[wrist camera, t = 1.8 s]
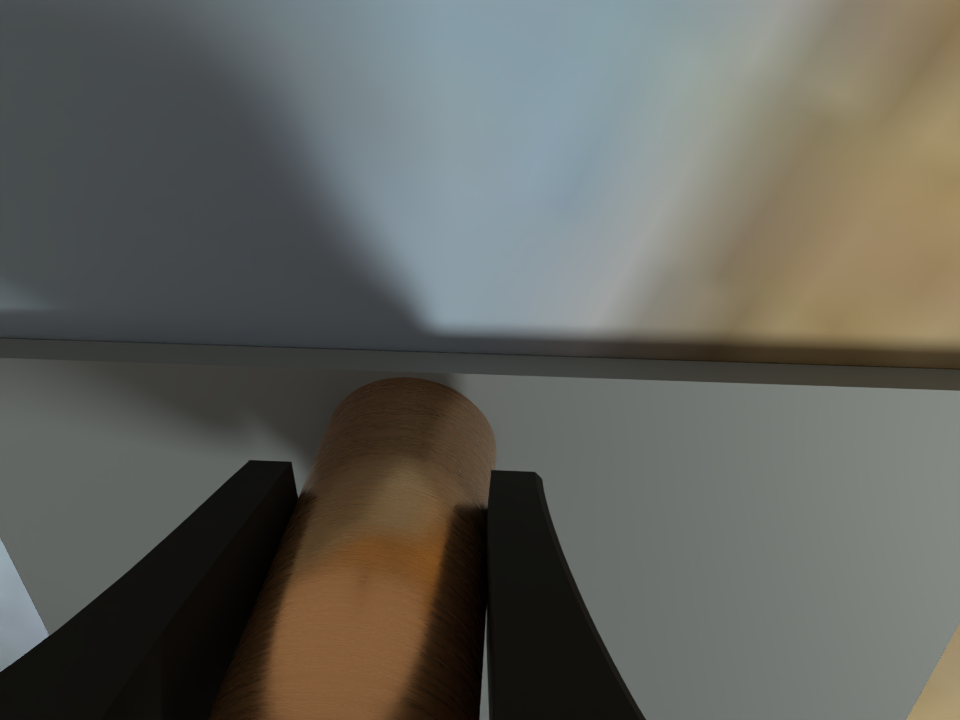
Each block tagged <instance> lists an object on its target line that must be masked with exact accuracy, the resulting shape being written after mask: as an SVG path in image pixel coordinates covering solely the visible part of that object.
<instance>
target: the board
mask: <svg viewBox="0 0 960 720" xmlns="http://www.w3.org/2000/svg"><path fill="white" fill-rule="evenodd" d="M398 377H409V378H420V379H425V380H430V381H433V382H436V383H439V384H442V385H445V386H447V387H449V388H451V389H453V390H455V391H457V392H459V393H460V394H462V395H463V396H465V397H466V398H467V399H469V400H470V401H471V402H472V403H473V404H474V405H476V406H477V407H478V408H479V410H480V411H481V412H482V413H483V415H484V416H485V417H486V419H487V421H488V422H489V424H490V426H491V428H492V431H493V433H494V437H495V441H496V450H497V454H496V469H495V470H504V471H529V472H536V473H537V474H538V475H539V476H540V477H541V478H542V480H543V487H544V492H545V497H546V501H547V505H548V509H549V512H550V515H551V519H552V522H553V525H554V528H555V531H556V534H557V536H558V539H559V542H560V545H561V548H562V550H563V553H564V556H565V558H566V561H567V563H568V566H569V568H570V570H571V573H572V575H573V577H574V580H575V582H576V584H577V587H578V589H579V591H580V594H581V596H582V598H583V600H584V603H585V605H586V607H587V609H588V611H589V614H590V616H591V618H592V620H593V622H594V624H595V626H596V628H597V630H598V632H599V634H600V636H601V638H602V640H603V642H604V644H605V646H606V648H607V650H608V652H609V654H610V656H611V658H612V660H613V662H614V664H615V666H616V667H617V669H618V671H619V673H620V675H621V677H622V678H623V680H624V682H625V684H626V686H627V688H628V689H629V691H630V693H631V695H632V697H633V698H634V700H635V702H636V704H637V705H638V707H639V709H640V710H641V712H642V714H643V715H644V717H645V719H646V720H906V719H907V717H908V715H909V713H910V712H911V710H912V708H913V706H914V704H915V703H916V701H917V699H918V697H919V695H920V694H921V692H922V690H923V688H924V686H925V685H926V683H927V681H928V679H929V677H930V676H931V674H932V672H933V670H934V668H935V667H936V665H937V663H938V661H939V659H940V658H941V656H942V654H943V652H944V650H945V649H946V647H947V645H948V643H949V641H950V640H951V638H952V636H953V634H954V632H955V631H956V629H957V627H958V625H959V623H960V370H953V369H922V368H892V367H861V366H831V365H800V364H769V363H739V362H708V361H678V360H647V359H616V358H586V357H555V356H525V355H494V354H463V353H433V352H402V351H372V350H341V349H311V348H280V347H249V346H219V345H188V344H158V343H127V342H96V341H66V340H35V339H5V338H0V538H1V540H2V542H3V544H4V546H5V548H6V550H7V552H8V554H9V556H10V558H11V560H12V562H13V564H14V566H15V568H16V570H17V572H18V574H19V576H20V578H21V580H22V582H23V584H24V586H25V588H26V590H27V592H28V594H29V596H30V598H31V600H32V602H33V604H34V606H35V608H36V610H37V612H38V614H39V615H40V617H41V619H42V621H43V623H44V625H45V627H46V629H47V631H48V633H49V635H51V634H52V633H54V632H55V631H56V630H58V629H59V628H60V627H61V626H63V625H64V624H65V623H66V622H68V621H69V620H70V619H71V618H72V617H74V616H75V615H76V614H77V613H78V612H80V611H81V610H82V609H83V608H84V607H86V606H87V605H88V604H89V603H90V602H92V601H93V600H94V599H95V598H97V597H98V596H99V595H100V594H101V593H103V592H104V591H105V590H106V589H107V588H109V587H110V586H111V585H112V584H113V583H115V582H116V581H117V580H118V579H119V578H121V577H122V576H123V575H124V574H125V573H126V572H128V571H129V570H130V569H131V568H132V567H133V566H134V565H135V564H137V563H138V562H139V561H140V560H141V559H142V558H143V557H144V556H146V555H147V554H148V553H149V552H150V551H151V550H152V549H153V548H154V547H156V546H157V545H158V544H159V543H160V542H161V541H162V540H163V539H164V538H166V537H167V536H168V535H169V534H170V533H171V532H172V531H173V530H174V529H176V528H177V527H178V526H179V525H180V524H181V523H182V522H183V521H184V520H185V519H186V518H187V517H189V516H190V515H191V514H192V513H193V512H194V511H195V510H196V509H197V508H198V507H199V506H200V505H201V504H202V503H204V502H205V501H206V500H207V499H208V498H209V497H210V496H211V495H212V494H213V493H214V492H215V491H216V490H217V489H219V488H220V487H221V486H222V485H223V484H224V483H225V482H226V481H227V480H228V479H229V478H230V477H232V476H233V475H234V474H235V473H236V472H237V471H238V470H239V469H240V468H242V467H243V466H244V465H245V464H246V463H247V462H248V461H249V460H262V461H287V462H292V467H293V472H294V478H295V483H296V489H297V494H298V498H299V495H300V493H301V490H302V488H303V485H304V483H305V481H306V478H307V476H308V473H309V471H310V468H311V466H312V464H313V461H314V459H315V456H316V454H317V451H318V449H319V447H320V444H321V442H322V439H323V437H324V434H325V432H326V430H327V427H328V425H329V422H330V420H331V418H332V416H333V413H334V411H335V410H336V408H337V407H338V406H339V404H340V403H341V402H342V401H343V400H344V399H345V398H346V397H347V396H348V395H350V394H351V393H352V392H354V391H355V390H357V389H359V388H360V387H362V386H364V385H367V384H369V383H372V382H375V381H379V380H383V379H388V378H398ZM486 622H487V610H486ZM479 720H489V702H488V674H487V645H486V625H485V641H484V657H483V672H482V688H481V703H480V719H479Z"/></svg>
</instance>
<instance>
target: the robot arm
mask: <svg viewBox="0 0 960 720" xmlns="http://www.w3.org/2000/svg"><path fill="white" fill-rule="evenodd" d="M297 500H298V494H297V489H296V483H295V478H294V472H293V467H292V462H287V461H262V460H249V461H248V462H247V463H246V464H245V465H244V466H243V467H242V468H240V469H239V470H238V471H237V472H236V473H235V474H234V475H233V476H232V477H230V478H229V479H228V480H227V481H226V482H225V483H224V484H223V485H222V486H221V487H220V488H219V489H217V490H216V491H215V492H214V493H213V494H212V495H211V496H210V497H209V498H208V499H207V500H206V501H205V502H204V503H202V504H201V505H200V506H199V507H198V508H197V509H196V510H195V511H194V512H193V513H192V514H191V515H190V516H189V517H187V518H186V519H185V520H184V521H183V522H182V523H181V524H180V525H179V526H178V527H177V528H176V529H174V530H173V531H172V532H171V533H170V534H169V535H168V536H167V537H166V538H164V539H163V540H162V541H161V542H160V543H159V544H158V545H157V546H156V547H154V548H153V549H152V550H151V551H150V552H149V553H148V554H147V555H146V556H144V557H143V558H142V559H141V560H140V561H139V562H138V563H137V564H135V565H134V566H133V567H132V568H131V569H130V570H129V571H128V572H126V573H125V574H124V575H123V576H122V577H121V578H119V579H118V580H117V581H116V582H115V583H113V584H112V585H111V586H110V587H109V588H107V589H106V590H105V591H104V592H103V593H101V594H100V595H99V596H98V597H97V598H95V599H94V600H93V601H92V602H90V603H89V604H88V605H87V606H86V607H84V608H83V609H82V610H81V611H80V612H78V613H77V614H76V615H75V616H74V617H72V618H71V619H70V620H69V621H68V622H66V623H65V624H64V625H63V626H61V627H60V628H59V629H58V630H56V631H55V632H54V633H52V634H51V635H50V636H49V637H47V638H46V639H45V640H43V641H42V642H41V643H39V644H38V645H37V646H35V647H34V648H33V649H31V650H30V651H29V652H27V653H26V654H25V655H24V656H22V657H21V658H20V659H18V660H17V661H15V662H14V663H13V664H11V665H10V666H8V667H7V668H6V669H4V670H3V671H1V672H0V720H207V719H208V717H209V714H210V712H211V709H212V707H213V704H214V702H215V700H216V697H217V695H218V692H219V690H220V687H221V685H222V683H223V680H224V678H225V675H226V673H227V670H228V668H229V666H230V663H231V661H232V658H233V656H234V653H235V651H236V649H237V646H238V644H239V641H240V639H241V636H242V634H243V631H244V629H245V627H246V624H247V622H248V619H249V617H250V614H251V612H252V610H253V607H254V605H255V602H256V600H257V597H258V595H259V593H260V590H261V588H262V585H263V583H264V580H265V578H266V576H267V573H268V571H269V568H270V566H271V563H272V561H273V558H274V556H275V554H276V551H277V549H278V546H279V544H280V541H281V539H282V537H283V534H284V532H285V529H286V527H287V524H288V522H289V520H290V517H291V515H292V512H293V510H294V507H295V505H296V503H297ZM487 588H488V594H487V622H486V645H487V674H488V702H489V720H646V719H645V717H644V715H643V714H642V712H641V710H640V709H639V707H638V705H637V704H636V702H635V700H634V698H633V697H632V695H631V693H630V691H629V689H628V688H627V686H626V684H625V682H624V680H623V678H622V677H621V675H620V673H619V671H618V669H617V667H616V666H615V664H614V662H613V660H612V658H611V656H610V654H609V652H608V650H607V648H606V646H605V644H604V642H603V640H602V638H601V636H600V634H599V632H598V630H597V628H596V626H595V624H594V622H593V620H592V618H591V616H590V614H589V611H588V609H587V607H586V605H585V603H584V600H583V598H582V596H581V594H580V591H579V589H578V587H577V584H576V582H575V580H574V577H573V575H572V573H571V570H570V568H569V566H568V563H567V561H566V558H565V556H564V553H563V550H562V548H561V545H560V542H559V539H558V536H557V534H556V531H555V528H554V525H553V522H552V519H551V515H550V512H549V509H548V505H547V501H546V497H545V492H544V487H543V480H542V478H541V477H540V476H539V475H538V474H537V473H536V472H529V471H504V470H491V477H490V487H489V497H488V517H487Z"/></svg>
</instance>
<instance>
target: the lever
mask: <svg viewBox="0 0 960 720" xmlns="http://www.w3.org/2000/svg"><path fill="white" fill-rule="evenodd" d="M496 454H497V450H496V441H495V437H494V433H493V431H492V428H491V426H490V424H489V422H488V421H487V419H486V417H485V416H484V415H483V413H482V412H481V411H480V410H479V408H478V407H477V406H476V405H474V404H473V403H472V402H471V401H470V400H469V399H467V398H466V397H465V396H463V395H462V394H460V393H459V392H457V391H455V390H453V389H451V388H449V387H447V386H445V385H442V384H439V383H436V382H433V381H430V380H425V379H420V378H409V377H398V378H388V379H383V380H379V381H375V382H372V383H369V384H367V385H364V386H362V387H360V388H359V389H357V390H355V391H354V392H352V393H351V394H350V395H348V396H347V397H346V398H345V399H344V400H343V401H342V402H341V403H340V404H339V406H338V407H337V408H336V410H335V411H334V413H333V416H332V418H331V420H330V422H329V425H328V427H327V430H326V432H325V434H324V437H323V439H322V442H321V444H320V447H319V449H318V451H317V454H316V456H315V459H314V461H313V464H312V466H311V468H310V471H309V473H308V476H307V478H306V481H305V483H304V485H303V488H302V490H301V493H300V495H299V498H298V500H297V503H296V505H295V507H294V510H293V512H292V515H291V517H290V520H289V522H288V524H287V527H286V529H285V532H284V534H283V537H282V539H281V541H280V544H279V546H278V549H277V551H276V554H275V556H274V558H273V561H272V563H271V566H270V568H269V571H268V573H267V576H266V578H265V580H264V583H263V585H262V588H261V590H260V593H259V595H258V597H257V600H256V602H255V605H254V607H253V610H252V612H251V614H250V617H249V619H248V622H247V624H246V627H245V629H244V631H243V634H242V636H241V639H240V641H239V644H238V646H237V649H236V651H235V653H234V656H233V658H232V661H231V663H230V666H229V668H228V670H227V673H226V675H225V678H224V680H223V683H222V685H221V687H220V690H219V692H218V695H217V697H216V700H215V702H214V704H213V707H212V709H211V712H210V714H209V717H208V719H207V720H479V719H480V703H481V688H482V672H483V657H484V641H485V625H486V610H487V594H488V588H487V517H488V497H489V487H490V477H491V470H495V469H496Z"/></svg>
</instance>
